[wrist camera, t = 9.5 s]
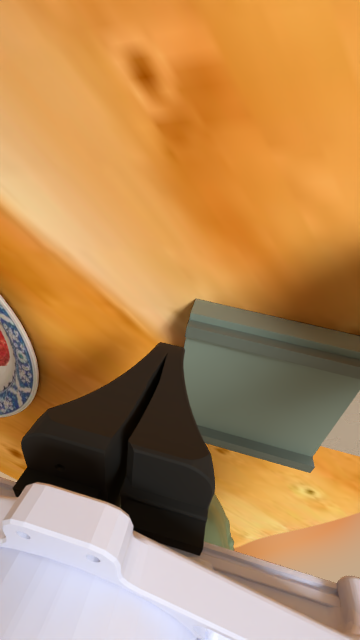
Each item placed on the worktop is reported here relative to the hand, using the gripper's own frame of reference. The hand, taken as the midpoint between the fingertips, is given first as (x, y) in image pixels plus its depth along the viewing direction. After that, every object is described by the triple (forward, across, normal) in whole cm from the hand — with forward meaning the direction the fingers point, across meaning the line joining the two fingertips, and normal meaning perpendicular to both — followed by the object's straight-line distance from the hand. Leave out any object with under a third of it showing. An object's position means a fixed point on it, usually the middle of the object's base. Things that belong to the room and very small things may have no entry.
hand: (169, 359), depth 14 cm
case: (+10, -7, +8) cm, 14 cm away
